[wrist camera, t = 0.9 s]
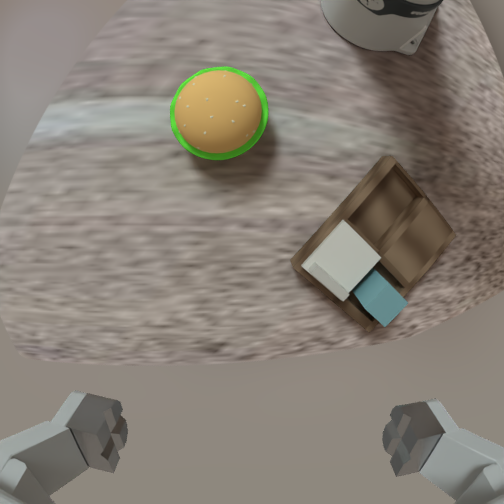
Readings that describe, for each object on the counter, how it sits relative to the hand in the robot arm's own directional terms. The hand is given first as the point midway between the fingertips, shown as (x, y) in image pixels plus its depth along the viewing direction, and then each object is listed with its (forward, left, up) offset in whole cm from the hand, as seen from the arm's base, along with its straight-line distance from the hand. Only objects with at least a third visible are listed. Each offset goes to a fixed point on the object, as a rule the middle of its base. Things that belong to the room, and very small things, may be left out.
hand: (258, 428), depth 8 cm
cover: (-3, +12, -33) cm, 35 cm away
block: (-3, +19, -35) cm, 40 cm away
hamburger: (-7, -12, -36) cm, 39 cm away
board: (-8, +16, -36) cm, 40 cm away
